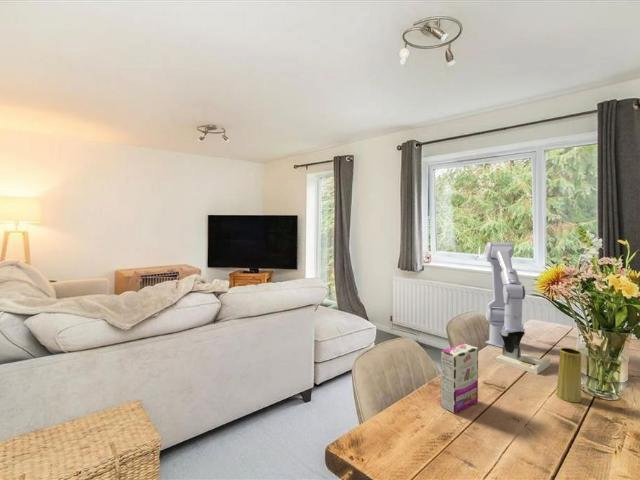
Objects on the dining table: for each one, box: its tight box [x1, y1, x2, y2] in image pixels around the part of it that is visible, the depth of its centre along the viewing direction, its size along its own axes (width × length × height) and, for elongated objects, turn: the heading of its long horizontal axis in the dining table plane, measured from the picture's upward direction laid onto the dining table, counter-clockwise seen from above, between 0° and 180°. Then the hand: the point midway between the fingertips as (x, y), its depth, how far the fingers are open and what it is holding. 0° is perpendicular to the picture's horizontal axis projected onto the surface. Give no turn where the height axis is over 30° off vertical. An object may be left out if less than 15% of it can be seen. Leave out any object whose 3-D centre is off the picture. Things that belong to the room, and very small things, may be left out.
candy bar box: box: [440, 343, 479, 415], centre depth 97 cm, size 11×5×16 cm, turn 123°
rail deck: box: [495, 352, 551, 375], centre depth 127 cm, size 12×14×2 cm
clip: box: [501, 344, 522, 359], centre depth 130 cm, size 4×5×5 cm
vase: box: [556, 347, 582, 403], centre depth 102 cm, size 6×6×14 cm
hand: (511, 350), depth 130 cm, fingers closed on clip, 4 cm apart
